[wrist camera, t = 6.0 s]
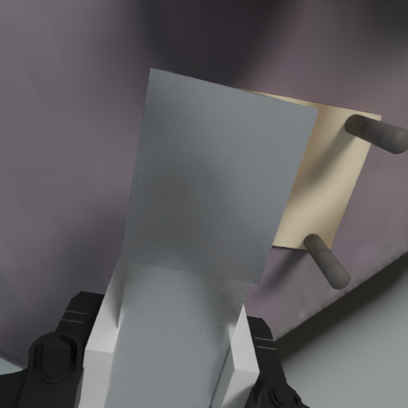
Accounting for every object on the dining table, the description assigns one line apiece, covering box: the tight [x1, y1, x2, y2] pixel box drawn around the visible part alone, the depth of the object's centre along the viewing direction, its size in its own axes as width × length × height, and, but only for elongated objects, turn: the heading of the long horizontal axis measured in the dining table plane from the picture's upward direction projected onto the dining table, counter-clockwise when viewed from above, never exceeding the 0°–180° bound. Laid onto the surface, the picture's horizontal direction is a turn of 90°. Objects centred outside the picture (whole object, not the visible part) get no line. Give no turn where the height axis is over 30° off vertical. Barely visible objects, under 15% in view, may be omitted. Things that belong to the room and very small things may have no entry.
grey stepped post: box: [105, 68, 319, 408], centre depth 13 cm, size 17×4×6 cm, turn 167°
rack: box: [237, 88, 408, 289], centre depth 26 cm, size 12×13×7 cm
